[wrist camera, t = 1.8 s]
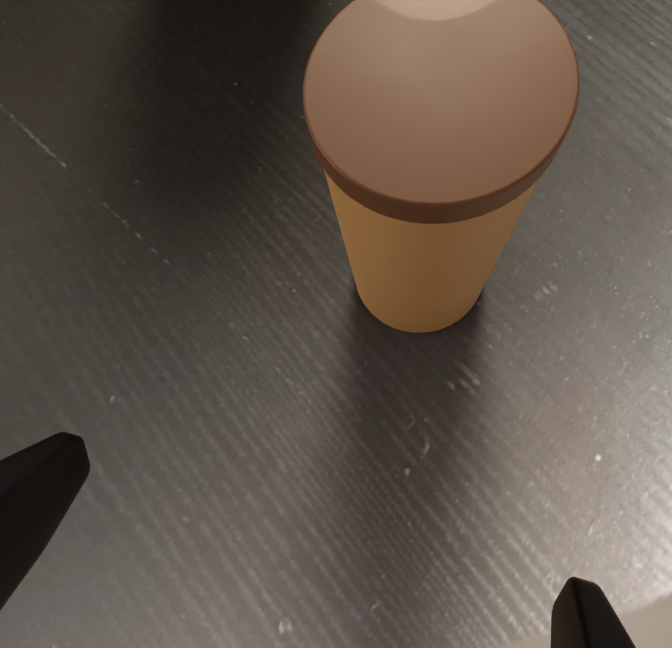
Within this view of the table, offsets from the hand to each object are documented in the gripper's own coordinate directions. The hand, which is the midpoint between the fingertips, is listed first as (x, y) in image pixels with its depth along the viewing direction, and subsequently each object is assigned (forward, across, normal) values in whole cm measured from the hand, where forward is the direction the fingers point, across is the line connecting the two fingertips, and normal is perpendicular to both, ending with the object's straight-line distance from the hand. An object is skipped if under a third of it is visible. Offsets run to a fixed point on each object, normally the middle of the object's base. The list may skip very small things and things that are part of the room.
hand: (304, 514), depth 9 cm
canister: (+16, 0, +3) cm, 17 cm away
